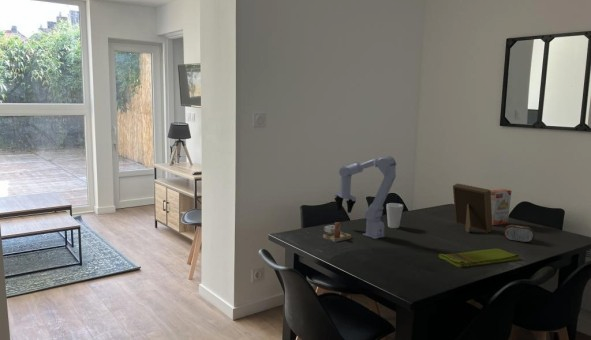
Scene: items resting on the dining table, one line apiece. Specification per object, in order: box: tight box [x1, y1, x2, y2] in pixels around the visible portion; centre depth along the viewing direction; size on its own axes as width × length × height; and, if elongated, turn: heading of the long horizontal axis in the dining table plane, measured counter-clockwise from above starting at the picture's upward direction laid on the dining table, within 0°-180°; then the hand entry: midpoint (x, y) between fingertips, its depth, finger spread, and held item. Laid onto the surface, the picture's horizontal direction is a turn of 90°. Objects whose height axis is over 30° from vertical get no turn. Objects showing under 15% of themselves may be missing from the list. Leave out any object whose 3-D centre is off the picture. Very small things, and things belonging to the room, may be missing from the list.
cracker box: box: [489, 188, 512, 227], centre depth 287 cm, size 14×6×21 cm, turn 120°
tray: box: [322, 231, 353, 243], centre depth 249 cm, size 10×12×2 cm
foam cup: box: [385, 202, 404, 229], centre depth 274 cm, size 10×9×13 cm
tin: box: [503, 224, 536, 243], centre depth 253 cm, size 15×3×8 cm, turn 65°
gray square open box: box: [323, 224, 342, 233], centre depth 260 cm, size 6×6×3 cm
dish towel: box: [438, 248, 520, 268], centre depth 224 cm, size 15×36×3 cm, turn 111°
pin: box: [334, 221, 342, 238], centre depth 249 cm, size 3×3×8 cm
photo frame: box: [452, 183, 493, 234], centre depth 273 cm, size 15×22×25 cm
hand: (344, 211), depth 266 cm, fingers open, 7 cm apart
